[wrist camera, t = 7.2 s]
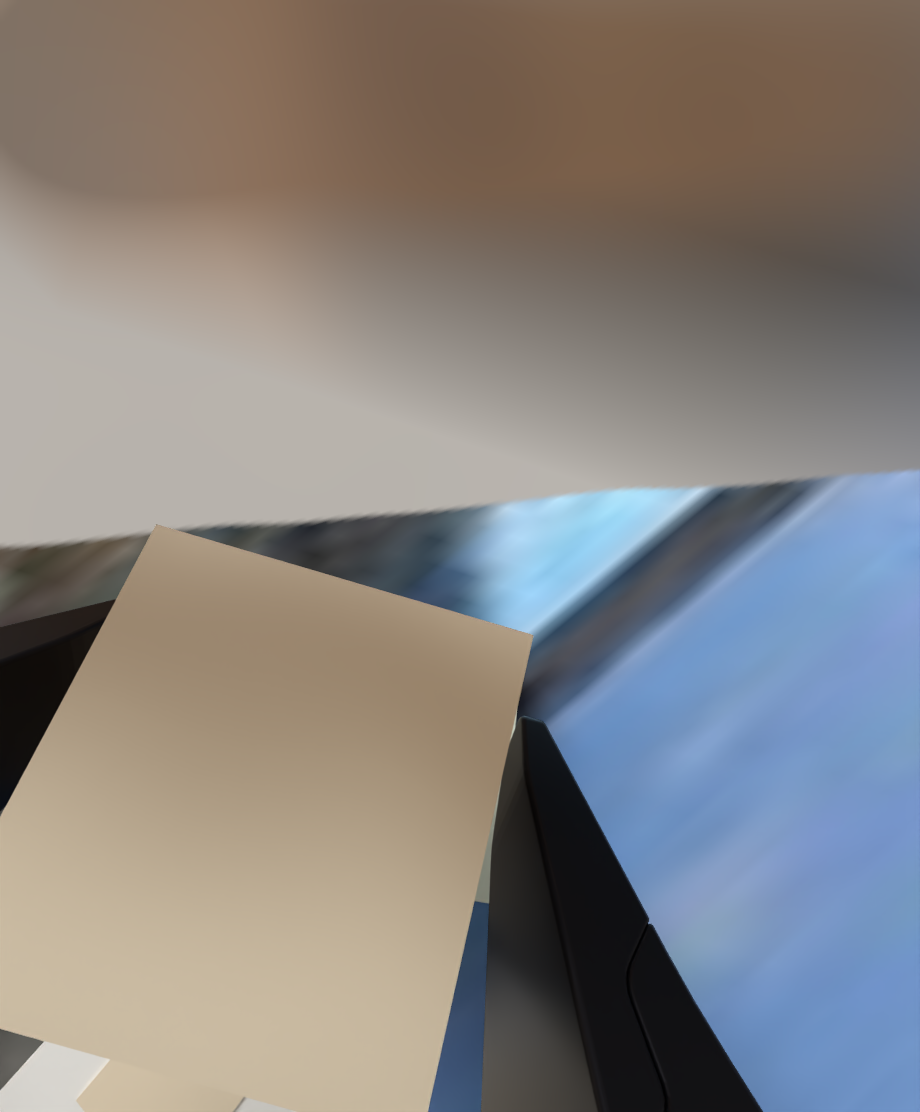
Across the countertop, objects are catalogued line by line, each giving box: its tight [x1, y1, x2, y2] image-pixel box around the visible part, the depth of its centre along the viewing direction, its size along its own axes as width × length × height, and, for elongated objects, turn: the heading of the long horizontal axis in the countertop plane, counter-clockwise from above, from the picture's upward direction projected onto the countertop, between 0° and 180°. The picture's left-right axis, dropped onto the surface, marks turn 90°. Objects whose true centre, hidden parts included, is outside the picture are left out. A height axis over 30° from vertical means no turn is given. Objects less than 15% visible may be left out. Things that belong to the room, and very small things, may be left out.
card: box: [0, 1041, 296, 1112], centre depth 16 cm, size 8×8×1 cm
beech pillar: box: [0, 525, 533, 1112], centre depth 10 cm, size 4×4×12 cm
